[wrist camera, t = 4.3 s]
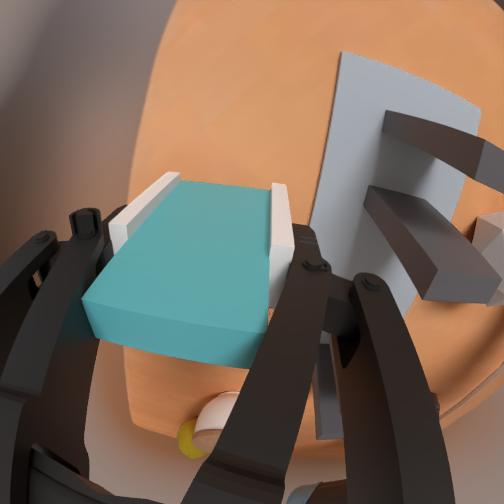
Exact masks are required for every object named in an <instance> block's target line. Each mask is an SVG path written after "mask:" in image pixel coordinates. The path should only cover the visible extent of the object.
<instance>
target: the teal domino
mask: <svg viewBox="0 0 504 504" xmlns="http://www.w3.org/2000/svg"><path fill="white" fill-rule="evenodd" d="M270 193H271V191H270V190H263V189H255V188H247V187H239V186H231V185H222V184H213V183H203V182H192V181H180V183H179V184H178V185H177V186H176V187H175V188H174V189H173V190H172V191H171V192H170V193H169V194H168V196H167V197H166V198H165V199H164V200H163V201H162V202H161V203H160V204H159V205H158V206H157V207H156V208H155V210H154V211H153V212H152V213H151V214H150V215H149V216H148V217H147V219H146V220H145V221H144V222H143V223H142V224H141V225H140V226H139V228H138V229H137V230H136V231H135V232H134V233H133V235H132V236H131V237H130V238H129V239H128V240H127V241H126V242H125V243H124V244H123V246H122V247H121V248H120V249H119V250H118V252H117V253H116V254H115V255H114V257H113V258H112V259H111V260H110V262H109V263H108V264H107V265H106V267H105V268H104V269H103V270H102V272H101V273H100V274H99V276H98V277H97V278H96V280H95V281H94V282H93V284H92V285H91V286H90V288H89V289H88V290H87V292H86V293H85V294H84V296H83V297H82V298H81V300H82V303H83V306H84V309H85V311H86V314H87V317H88V320H89V322H90V325H91V327H92V330H93V333H94V335H95V337H96V338H99V339H102V340H106V341H109V342H113V343H116V344H120V345H124V346H127V347H131V348H135V349H139V350H143V351H148V352H152V353H156V354H161V355H166V356H170V357H175V358H180V359H186V360H191V361H197V362H202V363H208V364H215V365H221V366H228V367H236V368H243V369H250V368H251V366H252V363H253V361H254V359H255V356H256V354H257V352H258V349H259V347H260V344H261V342H262V340H263V337H264V335H265V332H266V330H267V328H268V303H269V268H270V259H269V235H270Z"/></svg>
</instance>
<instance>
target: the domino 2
mask: <svg viewBox="0 0 504 504" xmlns="http://www.w3.org/2000/svg"><path fill="white" fill-rule="evenodd" d="M381 132H383V133H385V134H388V135H390V136H392V137H395V138H397V139H399V140H401V141H403V142H405V143H408V144H410V145H412V146H414V147H416V148H418V149H420V150H422V151H424V152H426V153H428V154H430V155H432V156H434V157H435V158H437V159H439V160H441V161H443V162H445V163H446V164H448V165H450V166H452V167H453V168H455V169H457V170H459V171H460V172H462V173H464V174H465V175H467V176H468V177H470V178H472V179H473V180H475V181H477V182H480V183H482V184H484V185H486V186H488V187H491V188H493V189H495V190H497V191H499V192H501V193H503V194H504V151H503V150H502V149H500V148H498V147H497V146H495V145H493V144H492V143H490V142H488V141H487V140H485V139H482V138H480V137H477V136H474V135H472V134H469V133H466V132H464V131H461V130H458V129H455V128H452V127H449V126H446V125H443V124H440V123H436V122H433V121H429V120H426V119H422V118H419V117H415V116H411V115H407V114H403V113H399V112H394V111H390V110H386V111H385V116H384V121H383V126H382V131H381Z"/></svg>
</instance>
